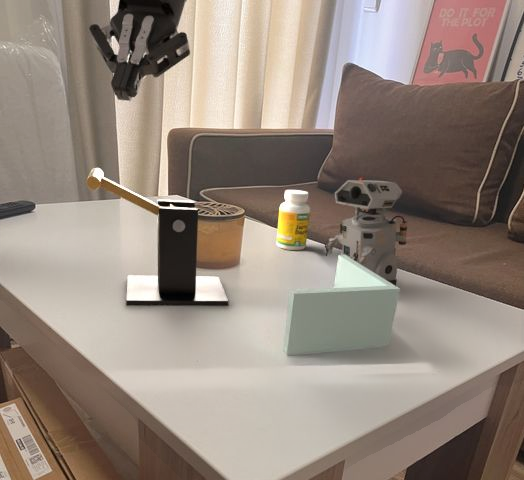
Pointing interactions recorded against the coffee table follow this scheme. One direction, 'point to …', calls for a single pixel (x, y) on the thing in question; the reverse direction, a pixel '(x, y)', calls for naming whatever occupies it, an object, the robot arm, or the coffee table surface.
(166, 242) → the bracket
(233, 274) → the coffee table surface
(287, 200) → the supplement bottle
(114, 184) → the tap lever
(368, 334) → the l-shaped corner panel
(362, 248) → the figurine
